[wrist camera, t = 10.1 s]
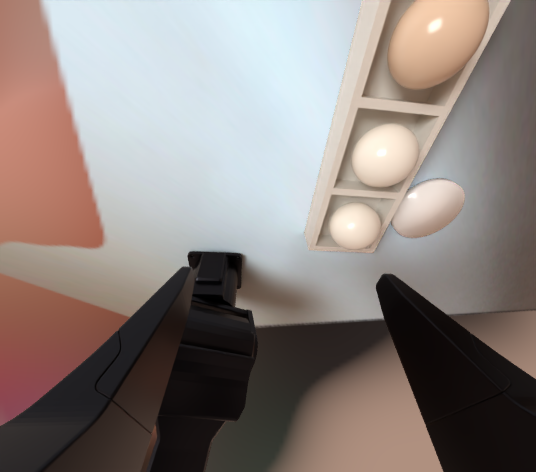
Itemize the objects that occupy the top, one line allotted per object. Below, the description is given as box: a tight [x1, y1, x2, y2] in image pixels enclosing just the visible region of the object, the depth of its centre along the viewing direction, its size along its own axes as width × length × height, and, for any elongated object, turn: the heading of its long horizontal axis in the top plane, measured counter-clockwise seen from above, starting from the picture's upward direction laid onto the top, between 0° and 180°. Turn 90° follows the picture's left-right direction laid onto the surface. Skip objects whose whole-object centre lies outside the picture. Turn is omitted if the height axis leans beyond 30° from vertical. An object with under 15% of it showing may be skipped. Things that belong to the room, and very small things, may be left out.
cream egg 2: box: [351, 123, 420, 187], centre depth 16 cm, size 5×5×5 cm
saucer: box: [391, 178, 465, 238], centre depth 23 cm, size 7×7×1 cm
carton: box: [304, 0, 510, 253], centre depth 18 cm, size 20×7×3 cm, turn 175°
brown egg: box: [387, 0, 490, 89], centre depth 12 cm, size 5×5×5 cm
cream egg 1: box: [329, 202, 381, 250], centre depth 21 cm, size 5×5×5 cm
